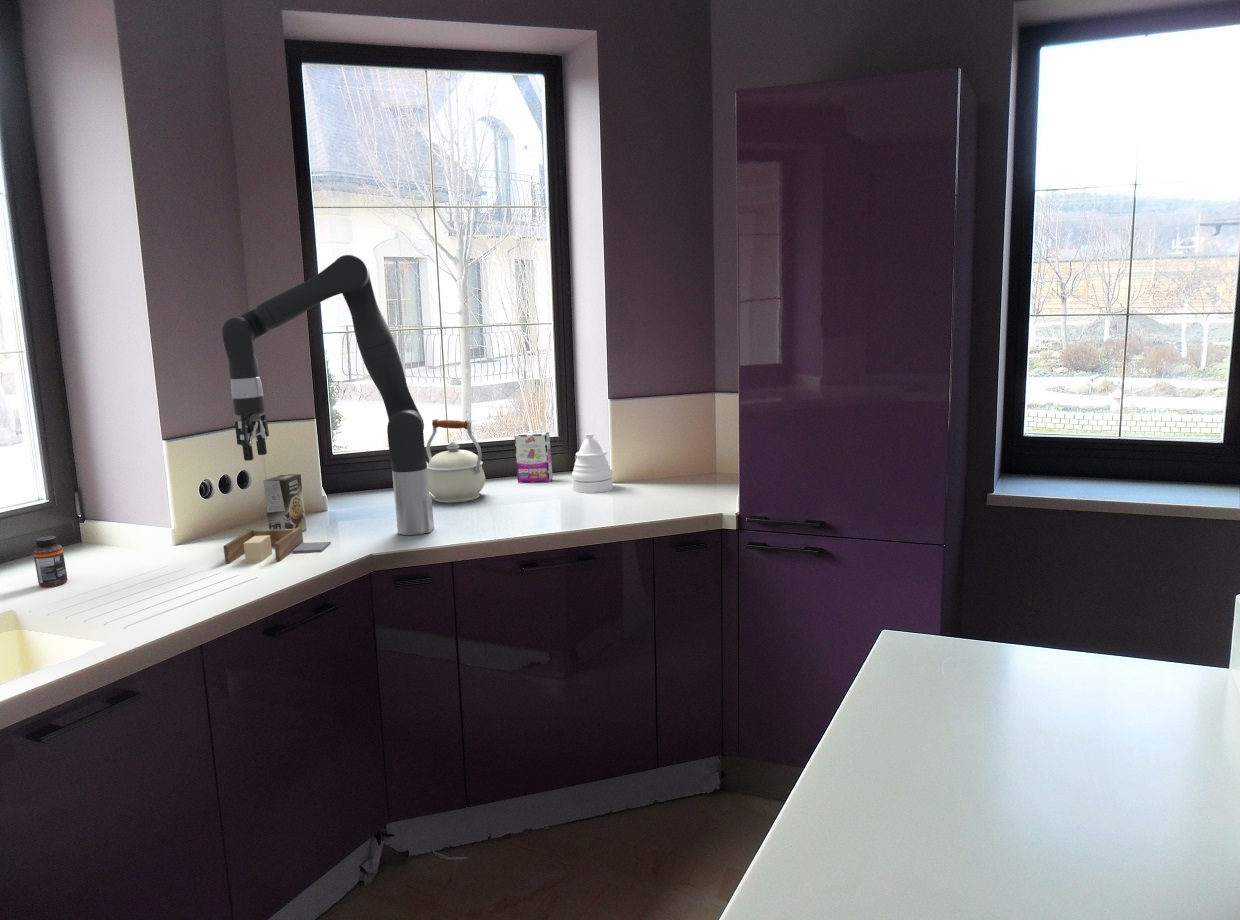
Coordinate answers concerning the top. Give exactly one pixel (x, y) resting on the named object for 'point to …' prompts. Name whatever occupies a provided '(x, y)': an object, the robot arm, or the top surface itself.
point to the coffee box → (285, 502)
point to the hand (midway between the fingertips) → (256, 457)
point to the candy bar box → (533, 457)
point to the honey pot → (591, 468)
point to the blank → (257, 548)
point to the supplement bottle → (49, 562)
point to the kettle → (454, 468)
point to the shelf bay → (279, 538)
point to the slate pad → (311, 547)
